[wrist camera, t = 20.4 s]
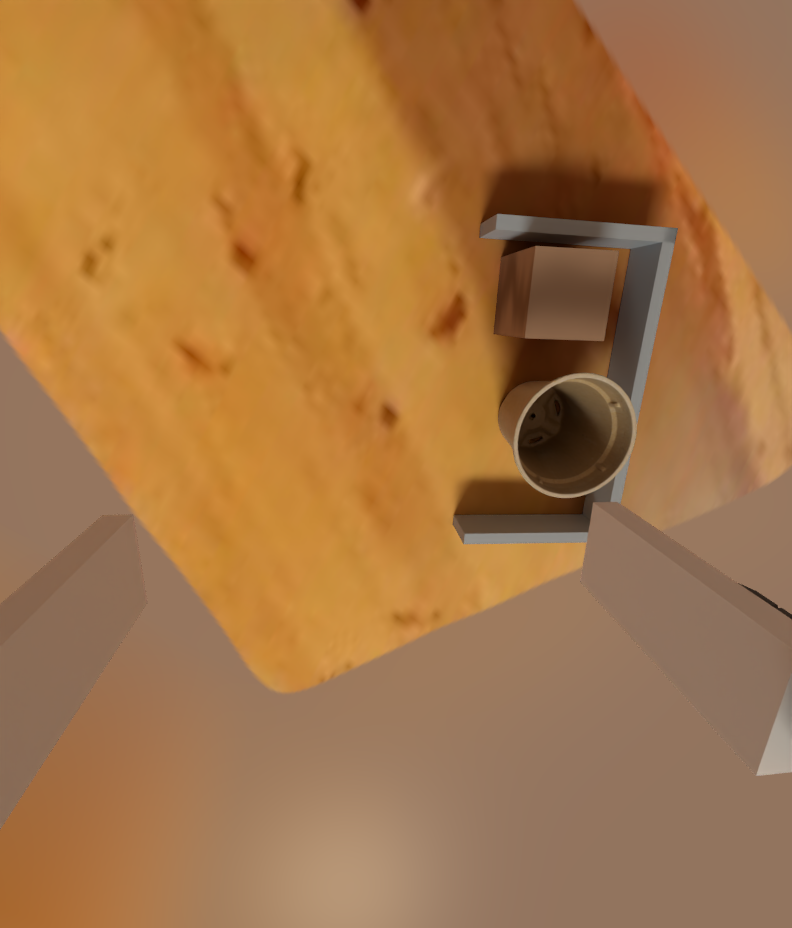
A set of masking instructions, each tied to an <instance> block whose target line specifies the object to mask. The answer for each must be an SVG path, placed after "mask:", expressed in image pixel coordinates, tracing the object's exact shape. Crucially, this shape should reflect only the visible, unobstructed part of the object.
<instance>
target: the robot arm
mask: <svg viewBox="0 0 792 928" xmlns="http://www.w3.org/2000/svg"><path fill="white" fill-rule="evenodd" d="M580 582H581V584H582V585H583V586H584V587H585V588H586V589H587V590H588V591H589V592H590V593H591V595H592V596H593V597H594V598H595V599H596V600H597V601H598V602H599V603H600V604H601V606H603V608H604V609H605V610H606V611H607V612H608V613H609V614H610V615H611V617H612V618H613V619H614V620H615V621H616V622H617V623H618V624H619V625H620V627H621V628H622V629H623V630H624V631H625V632H626V633H627V634H628V635H629V636H630V637H631V639H632V640H633V641H634V642H635V643H636V644H637V645H638V646H639V648H641V650H642V651H643V652H644V653H645V654H646V655H647V656H648V657H649V658H650V660H651V661H652V662H653V663H654V664H655V665H656V666H657V667H658V668H659V670H660V671H661V672H662V673H663V674H664V675H665V676H666V677H667V678H668V679H669V681H671V683H672V684H673V685H674V686H675V687H676V688H677V689H678V690H679V691H680V693H681V694H682V695H683V696H684V697H685V698H686V699H687V700H688V702H690V704H691V705H692V706H693V707H694V708H695V709H696V710H697V711H698V712H699V714H700V715H701V716H702V717H703V718H704V719H705V720H706V721H707V722H708V724H709V725H710V726H711V727H712V728H713V729H714V730H715V731H716V732H717V734H718V735H720V737H721V738H722V739H723V740H724V741H725V742H726V743H727V745H728V746H729V747H730V748H731V749H732V750H733V751H734V752H735V753H736V755H737V756H738V757H739V758H740V759H741V760H742V761H743V762H744V763H745V764H746V766H747V767H749V769H750V770H751V771H752V772H753V773H754V774H755V775H756V776H759V775H769V774H777V773H787V772H792V614H790V613H788V612H787V611H785V610H784V609H782V608H778V606H777V605H776V604H775V603H773V602H772V601H770V600H769V599H767V598H766V597H764V596H763V595H761V594H760V593H758V592H757V591H754V590H752V589H750V588H748V587H746V586H744V585H741V584H739V583H737V582H735V581H734V580H732V579H731V578H729V577H728V576H726V575H725V574H723V573H722V572H720V571H719V570H718V569H716V568H714V567H713V566H712V565H710V564H709V563H707V562H706V561H704V560H703V559H701V558H699V557H698V556H697V555H695V554H694V553H692V552H690V551H689V550H688V549H686V548H685V547H683V546H682V545H680V544H679V543H677V542H676V541H674V540H673V539H671V538H670V537H668V536H667V535H665V534H664V533H663V532H661V531H660V530H658V529H657V528H655V527H654V526H652V525H651V524H649V523H648V522H646V521H645V520H643V519H642V518H640V517H639V516H637V515H636V514H634V513H633V512H631V511H630V510H628V509H627V508H625V507H624V506H622V505H621V504H619V503H618V502H593V507H592V513H591V520H590V526H589V532H588V538H587V544H586V550H585V556H584V562H583V568H582V574H581V581H580ZM146 604H147V598H146V591H145V584H144V579H143V572H142V566H141V560H140V554H139V547H138V542H137V535H136V529H135V522H134V516H133V515H103V516H101V517H100V518H99V519H98V520H97V521H96V522H94V523H93V524H92V525H91V526H90V527H89V528H87V529H86V530H85V531H84V532H83V533H82V534H81V535H79V536H78V537H77V538H76V539H75V540H74V541H72V542H71V543H70V544H69V545H68V546H67V547H66V548H64V549H63V550H62V551H61V552H60V553H59V554H58V555H56V556H55V557H54V558H53V559H52V560H51V561H49V562H48V563H47V564H46V565H45V566H44V567H43V568H41V569H40V570H39V571H38V572H37V573H36V574H35V575H33V576H32V577H31V578H30V579H29V580H28V581H26V582H25V583H24V584H23V585H22V586H21V587H19V589H17V590H16V591H15V592H14V593H13V594H11V595H10V596H9V597H8V598H7V599H6V600H4V601H3V602H2V603H1V604H0V829H1V827H2V826H3V824H4V823H5V821H6V820H7V818H8V817H9V815H10V814H11V812H12V811H13V809H14V807H15V806H16V804H17V803H18V801H19V800H20V798H21V797H22V795H23V794H24V792H25V790H26V789H27V787H28V786H29V784H30V783H31V781H32V780H33V778H34V777H35V775H36V774H37V772H38V770H39V769H40V768H41V766H42V764H43V763H44V761H45V760H46V758H47V757H48V755H49V754H50V752H51V751H52V749H53V748H54V746H55V744H56V743H57V741H58V740H59V738H60V737H61V735H62V734H63V732H64V731H65V729H66V728H67V726H68V724H69V723H70V721H71V720H72V718H73V717H74V715H75V714H76V712H77V711H78V709H79V707H80V706H81V704H82V703H83V701H84V700H85V698H86V697H87V695H88V694H89V692H90V691H91V689H92V688H93V686H94V684H95V683H96V681H97V680H98V678H99V677H100V675H101V674H102V672H103V671H104V669H105V667H106V666H107V664H108V663H109V661H110V660H111V658H112V657H113V655H114V654H115V652H116V650H117V649H118V647H119V646H120V644H121V643H122V641H123V640H124V638H125V637H126V635H127V634H128V632H129V630H130V629H131V627H132V626H133V624H134V623H135V621H136V620H137V618H138V617H139V615H140V613H141V612H142V611H143V609H144V607H145V606H146Z"/></svg>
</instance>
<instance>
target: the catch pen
mask: <svg viewBox="0 0 792 928" xmlns="http://www.w3.org/2000/svg"><path fill="white" fill-rule="evenodd" d="M677 230H678V228H668V227H656V226H643V225H631V224H618V223H606V222H594V221H581V220H569V219H556V218H544V217H532V216H519V215H507V214H496V215H494V216H493V217H491V218H489V219H488V220H486V221H485V222H483V223H481V226H480V237H479V238H489V239H503V240H516V241H530V242H544V243H557V244H571V245H585V246H598V247H612V248H626V249H631V251H630V256H629V262H628V267H627V272H626V278H625V283H624V289H623V294H622V300H621V305H620V311H619V316H618V322H617V327H616V333H615V338H614V344H613V349H612V354H611V360H610V365H609V371H608V376H607V378H609V379H610V380H612V381H614V382H615V383H616V384H618V385H619V386H620V387H621V388H622V389H623V390H624V391H625V392H626V394H627V395H628V397H629V399H630V401H631V403H632V405H633V408H634V411H635V416H636V422H638V417H639V412H640V407H641V402H642V398H643V393H644V388H645V383H646V378H647V374H648V369H649V364H650V359H651V354H652V350H653V345H654V340H655V335H656V330H657V326H658V321H659V316H660V311H661V306H662V302H663V297H664V292H665V287H666V282H667V278H668V273H669V268H670V263H671V258H672V254H673V249H674V244H675V239H676V234H677ZM630 455H631V454H630ZM629 460H630V456H629V458H628V461H627V462H626V464H625V465H624V467H623V468H622V469H621V471H620V472H619V473H618V474H617V475H616V476H615V477H614V478H613V479H612V480H611V481H610V482H608V483H607V484H605V485H604V486H603V487H601V488H600V489H598V490H596V491H593V492H591V493H589V494H586V497H585V502H584V507H583V513H582V514H529V515H454V519H453V526H454V527H455V529H456V531H457V533H458V535H459V536H460V538H461V540H462V542H463V544H507V543H576V542H587V538H588V532H589V526H590V520H591V513H592V507H593V502H618V503H619V504H620V503H621V498H622V494H623V489H624V484H625V479H626V474H627V470H628V465H629Z"/></svg>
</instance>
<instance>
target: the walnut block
mask: <svg viewBox="0 0 792 928" xmlns="http://www.w3.org/2000/svg"><path fill="white" fill-rule="evenodd" d="M618 254H619V251H613V250H597V249H580V248H564V247H548V246H533V247H530V248H527V249H524V250H521V251H518V252H515V253H512V254H510V255H507V256H504V257H501V264H500V274H499V284H498V294H497V304H496V315H495V325H494V334H497V335H504V336H511V337H519V338H529V339H558V340H587V341H604V338H605V332H606V326H607V320H608V314H609V308H610V302H611V296H612V290H613V284H614V278H615V272H616V266H617V260H618Z"/></svg>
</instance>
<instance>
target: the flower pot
mask: <svg viewBox="0 0 792 928" xmlns="http://www.w3.org/2000/svg"><path fill="white" fill-rule="evenodd" d="M555 401H558V403H559V405H560V412H559V414H557V412H556V405H555ZM532 414H535V417H534V418H533V419H532V418H531V415H532ZM498 422H499V427H500V430H501V433H502V435H503V436H504V438H505V439H506V440H507V441H508V443H509V444H510V446H511V447H512V449H513V455H514V459H515V463H516V465H517V467H518V470H519V471H520V473H521V475H522V476H523V478H524V479H525V480H526V481H527V482H528V483H529V484H530V485H531V486H532V487H533V488H535V489H536V490H538V491H539V492H541V493H543V494H546V495H549V496H552V497H557V498H574V497H579V496H583V495H586V494H589V493H591V492H593V491H596V490H598V489H600V488H601V487H603V486H604V485H605V484H607V483H608V482H610V481H611V480H612V479H613V478H614V477H615V476H616V475H617V474H618V473H619V472H620V471H621V469H622V468H623V467H624V465H625V464H626V462H627V461H628V458H629V456H630V454H631V453H632V451H633V447H634V444H635V440H636V433H637V422H636V416H635V411H634V408H633V405H632V403H631V401H630V399H629V397H628V395H627V394H626V392H625V391H624V390H623V389H622V388H621V387H620V386H619V385H618V384H616V383H615V382H614V381H612V380H610V379H609V378H607V377H604V376H602V375H598V374H593V373H574V374H569V375H565V376H562V377H559V378H557V379H555V380H553V381H529V382H525V383H522V384H520V385H518V386H517V387H515V388H514V389H512V390H511V391H510V392H509V394H508V395H507V396H506V398H505V400H504V401H503V403H502V405H501V406H500V410H499V416H498ZM538 437H542V439H540V440H539V441H537V442H534V443H529V440H530V439H535V438H538Z"/></svg>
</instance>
